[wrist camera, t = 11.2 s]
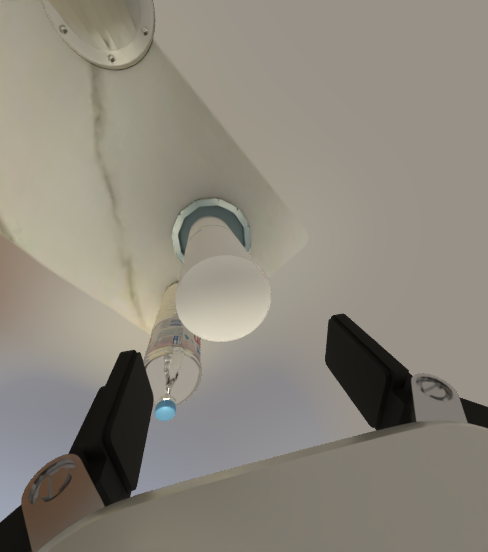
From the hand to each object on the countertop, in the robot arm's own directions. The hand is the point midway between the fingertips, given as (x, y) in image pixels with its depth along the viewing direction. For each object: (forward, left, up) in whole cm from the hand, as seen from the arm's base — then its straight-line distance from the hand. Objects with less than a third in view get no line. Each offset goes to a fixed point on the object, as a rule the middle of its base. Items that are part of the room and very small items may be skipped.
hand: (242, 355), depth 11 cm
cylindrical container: (0, 0, -31) cm, 31 cm away
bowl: (0, 0, -32) cm, 32 cm away
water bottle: (+11, -7, -32) cm, 35 cm away
